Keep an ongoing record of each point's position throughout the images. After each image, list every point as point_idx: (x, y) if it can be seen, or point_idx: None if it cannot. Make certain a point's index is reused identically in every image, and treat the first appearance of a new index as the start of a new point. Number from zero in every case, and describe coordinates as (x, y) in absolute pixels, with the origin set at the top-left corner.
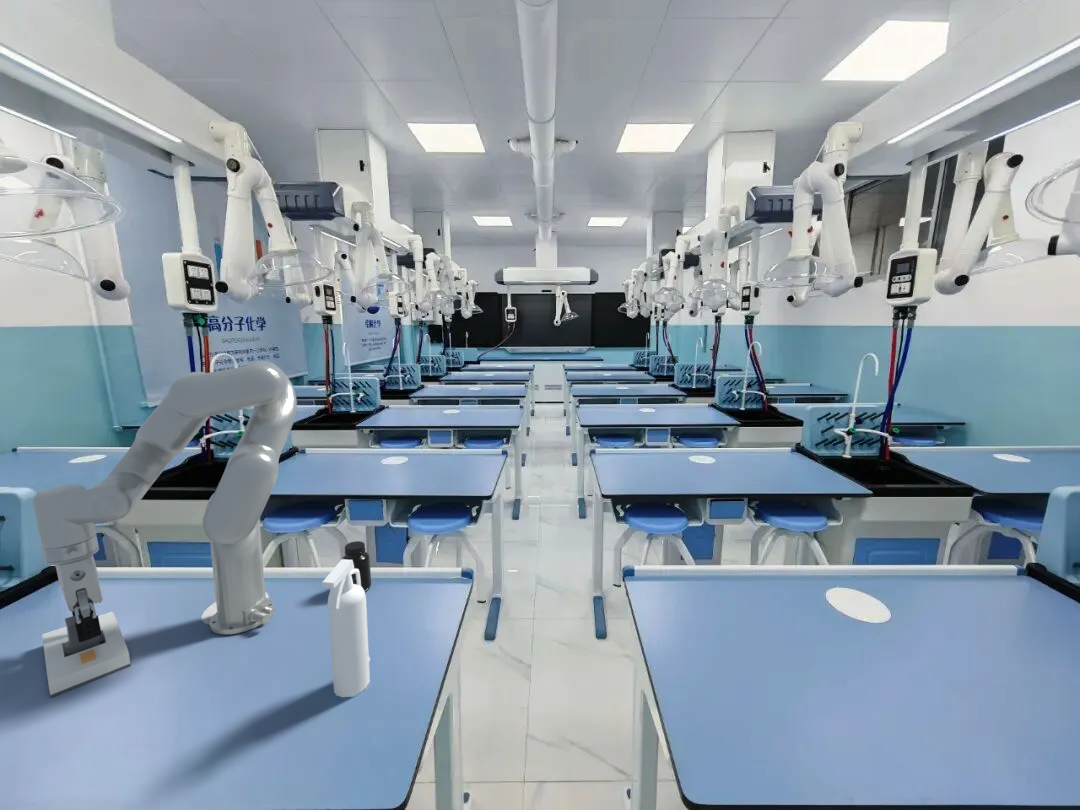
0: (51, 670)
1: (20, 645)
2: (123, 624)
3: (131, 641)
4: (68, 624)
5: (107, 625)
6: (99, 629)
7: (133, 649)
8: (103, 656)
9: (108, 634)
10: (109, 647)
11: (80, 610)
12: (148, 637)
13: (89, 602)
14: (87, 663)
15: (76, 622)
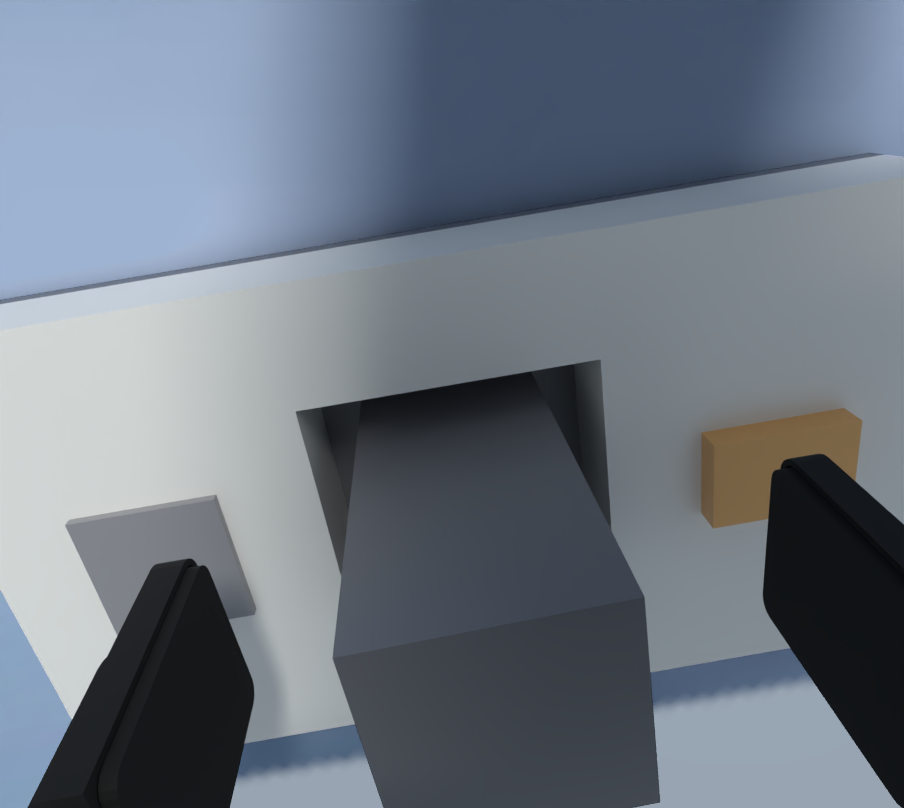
0: (744, 637)
1: (30, 776)
2: (26, 233)
3: (437, 155)
4: (598, 804)
5: (225, 377)
6: (860, 496)
7: (604, 136)
8: (856, 361)
9: (444, 354)
10: (726, 328)
11: (206, 751)
12: (464, 2)
13: (144, 751)
14: (860, 456)
15: (616, 752)
